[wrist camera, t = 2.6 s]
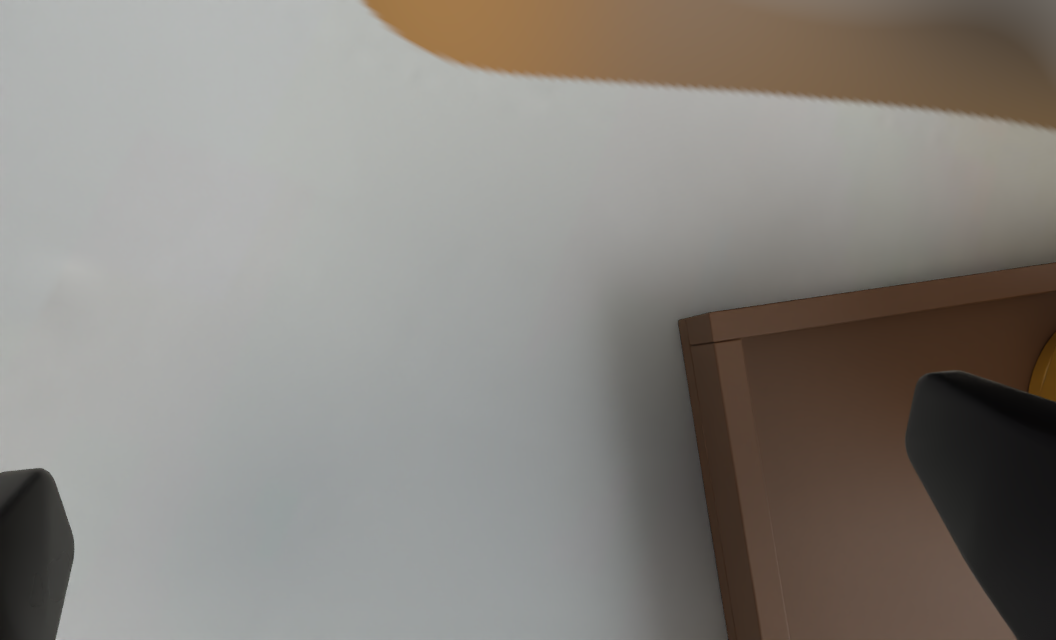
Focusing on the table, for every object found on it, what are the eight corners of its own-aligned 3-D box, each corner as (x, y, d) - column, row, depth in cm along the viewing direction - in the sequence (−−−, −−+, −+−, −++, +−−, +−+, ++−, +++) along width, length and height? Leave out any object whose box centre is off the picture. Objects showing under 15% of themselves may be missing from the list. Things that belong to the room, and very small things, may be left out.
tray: (1330, 762, 27) (1434, 805, 24) (768, 896, 24) (812, 962, 22) (1229, 240, 28) (1318, 224, 25) (676, 320, 25) (708, 312, 23)
